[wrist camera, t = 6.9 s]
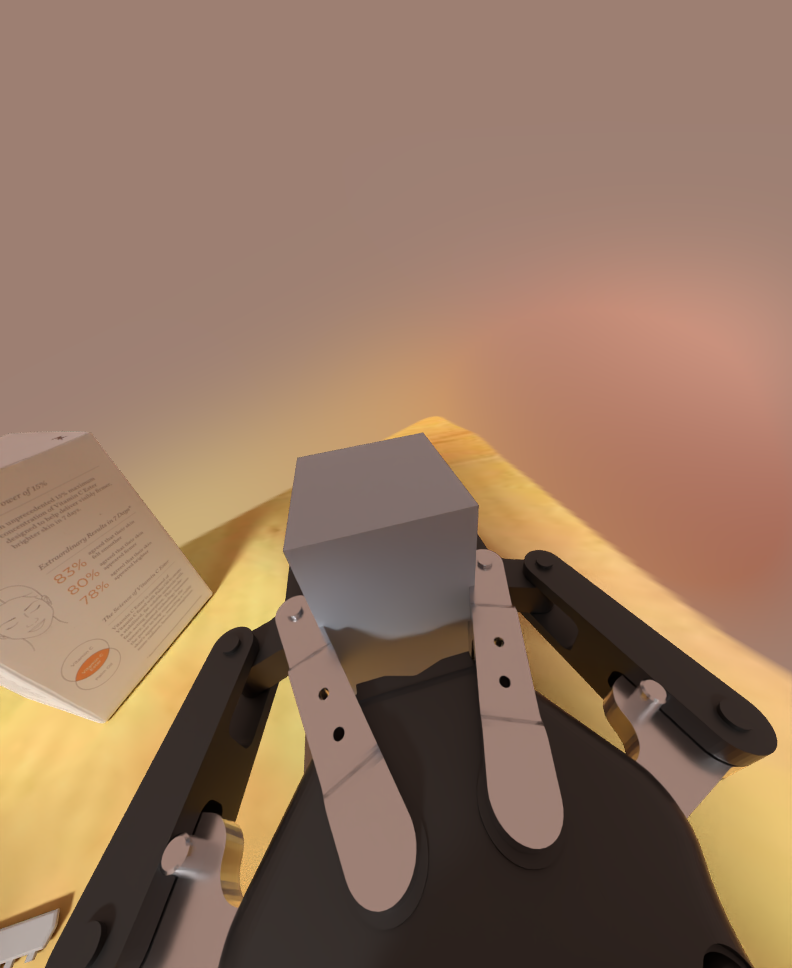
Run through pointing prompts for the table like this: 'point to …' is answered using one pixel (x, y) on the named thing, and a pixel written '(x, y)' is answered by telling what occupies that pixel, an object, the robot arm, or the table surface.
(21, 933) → the key chain
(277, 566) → the table surface
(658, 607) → the table surface
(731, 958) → the robot arm
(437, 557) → the slate block
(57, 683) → the small box
